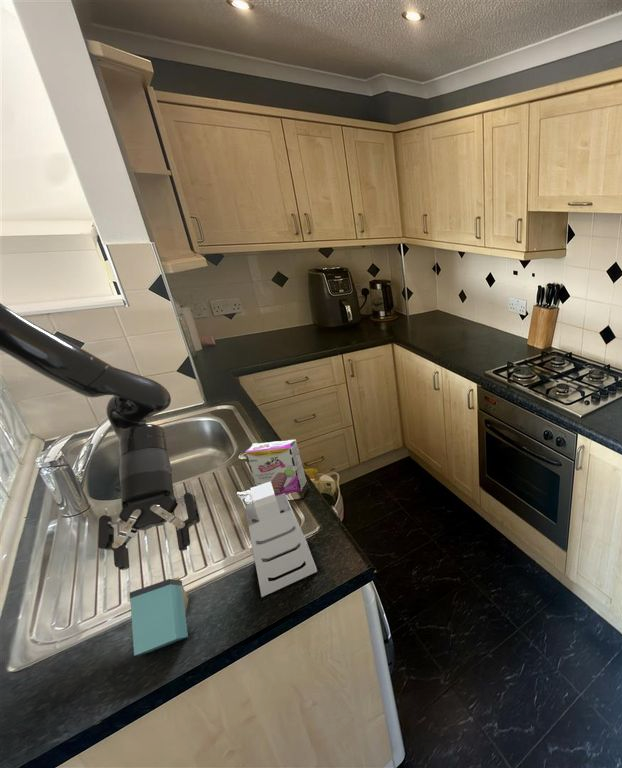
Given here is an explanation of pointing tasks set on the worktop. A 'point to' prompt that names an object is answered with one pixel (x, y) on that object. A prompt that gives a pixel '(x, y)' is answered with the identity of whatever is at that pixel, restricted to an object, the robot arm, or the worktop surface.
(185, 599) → the prop block
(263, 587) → the grater
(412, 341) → the worktop surface
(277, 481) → the candy bar box
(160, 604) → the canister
